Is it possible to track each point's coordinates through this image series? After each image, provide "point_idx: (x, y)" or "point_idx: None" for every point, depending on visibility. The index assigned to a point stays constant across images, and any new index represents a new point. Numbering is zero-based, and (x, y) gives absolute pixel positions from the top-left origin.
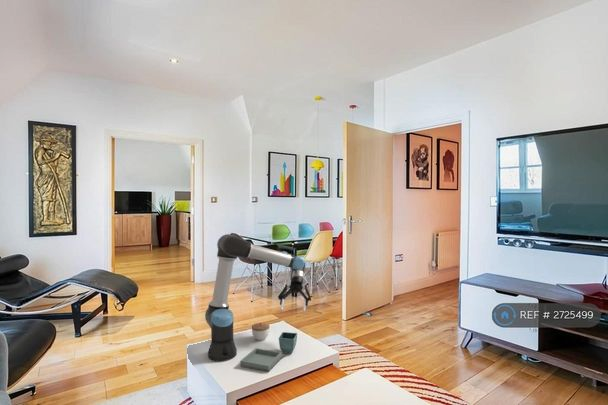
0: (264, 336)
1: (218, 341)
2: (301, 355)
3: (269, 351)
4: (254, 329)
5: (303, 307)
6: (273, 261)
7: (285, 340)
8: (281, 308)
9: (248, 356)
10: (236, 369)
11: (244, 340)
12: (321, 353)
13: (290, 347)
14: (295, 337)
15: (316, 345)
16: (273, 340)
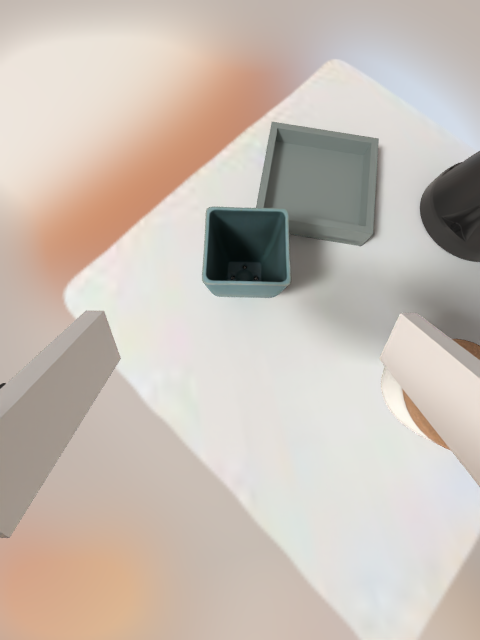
0: None
1: None
2: (187, 255)
3: (307, 217)
4: (472, 343)
5: (85, 328)
6: None
7: (250, 214)
8: (407, 315)
9: (367, 176)
10: None
11: None
12: (110, 283)
13: (227, 235)
14: (205, 239)
15: (134, 354)
16: (339, 376)
